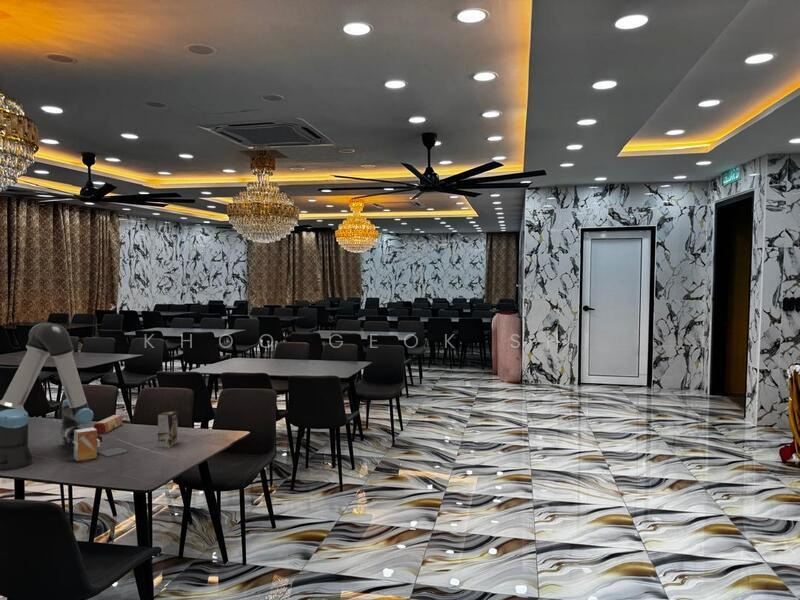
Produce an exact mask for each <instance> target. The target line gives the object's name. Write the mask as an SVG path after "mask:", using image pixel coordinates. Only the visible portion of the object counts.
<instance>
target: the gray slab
mask: <svg viewBox="0 0 800 600" xmlns="http://www.w3.org/2000/svg"><path fill="white" fill-rule="evenodd" d="M126 452H130V451H129V450H127V449H125V448H121V447H120V446H119V447H115V448H110V449H106V450H104V449H103V450H100V451H97V454H98V453H99V454H98V455H101V456H103V455H104V457H105V456H106V458H110V457H109V456H111V457H114V456H113V455H116V456H119V455H118V454H120V455H123V454H122V453H124V454H127V453H126Z"/></svg>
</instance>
